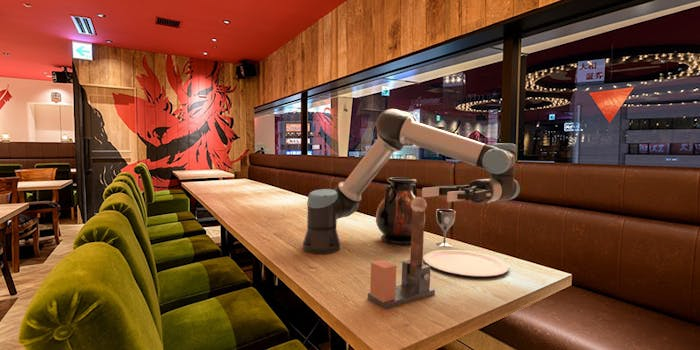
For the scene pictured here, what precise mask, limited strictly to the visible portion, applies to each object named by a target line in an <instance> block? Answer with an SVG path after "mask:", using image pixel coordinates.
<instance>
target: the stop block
mask: <svg viewBox="0 0 700 350" xmlns="http://www.w3.org/2000/svg"><path fill="white" fill-rule="evenodd" d="M370 263H371V264H370V287H369V288H370V290H369V291H370V292H369V293H370V295H372V296H373V297H375V298H377V299H378V300H380V301H382V302H387V301H390V300H394V299H395V289H396V286H397V285H396V283H397V265H395V264H394V263H391V262H389V261H387V260H384V259H381V260H375V261H371V262H370Z"/></svg>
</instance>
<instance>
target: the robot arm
mask: <svg viewBox="0 0 700 350" xmlns="http://www.w3.org/2000/svg"><path fill="white" fill-rule="evenodd" d="M375 126H376V131H377V132H376V136H377V139H376V140H375V141H374V143H373V144H372V145H371V146H370V148H369V149H368V150H367V152H366V153H365V154H364V156H363V157H362V159H360V161H359V162H358V163H357V165H356V166H355V168H354V169H353V170H352V172H351V173H350V174H349V175H348V177H347V178H346V180H345V181H340V182H338V184H337V185H336V187H335V188H334V189H333V188H332V189H330V188H322V189H315V190H313V191H311V192H309V194H308V196H307V202H306V203H307V221H306V222H307V225H306V226H307V227H306V228H307V229H306V233H305V236H304V238H303V241H302V250H303V251H304V252H305V253H310V254H317V255H327V254H333V253H337V252H339V251H340V250H341V242H340V238H339V235H338V230H337V223H338V222H337V220H338V219H343V218H344V217H345V218H347V217H349V216H352V215H353V214H354V213H356V211H357V210H358V208H359V205H360V202H361V200H362V193H363V192H364V191H365V190H366V189H367V187H368V186H369V185H370V183H371V182H372V180H374V179H375V177H376V176H377V174H378V173H379V172H380V171H381V170H382V168H383V167H384V166H385V165H386V164H387V162H388V161H389V159H390V158H392V156H393V154H394V153H395V152H401V151H402V149H403V148H404V147H405V146H406V145H407V143H409V144H410V145H414V146H417V147H420V148H423V149H425V150H429V151H432V152H434V153H437V154H441V155H443V156H445V157H449V158H451V159H455V160H457V161H460V162H463V163H466V164H469V165H471V166H475V167H478V168H479V169H483V170H485V171H487V173H490V176H489V177H490V178H484V179H483V178H481V179H473V180H472V181H470V182H469V183H468V184H464V185H438V186H437V185H433V186H431V187H422V189H421V198H429V197H434V198H438V197H439V196H446V202H448V203H451V202H461V201H462V202H463V201H471V202H473V203H475V204H483V203H486V204H490V203H491V202H500V201H501V202H502V201H504V202H505V201H506V202H507V201H510V200H513V199H514V200H515V198H517V197H518V196H519V194H520V191H521V187H520V183H519V182H518V181H517V180H515V170H516V169H515V168H516V156H517V146H516V145H517V144H514V143H507V142H506V143H505V142H504V143H503V142H502V143H499V142H496V143H493V144H492V145H489V144H486V143H483V142H480V141H478V140H475V139H470V138H468V137H464V136H461V135H459V134H456V133H452V132H450V131H446V130H443V129H439V128H436V127H433V126H430V125H427V124H424V123H422V122H421V123H420V122H419V121H418V118H417V117H416V116H415V115H413V113H411V112H409V111H406V110H400V109H396V108H389V109H386V110H384V111H382V112H380V114H379V116H378V117H377V119H376V122H375Z"/></svg>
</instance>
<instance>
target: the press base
mask: <svg viewBox="0 0 700 350" xmlns="http://www.w3.org/2000/svg"><path fill="white" fill-rule="evenodd" d="M401 263H402V264H401V283H400V284H398V285H396V289H395V299H394V300H390V301H387V302H382V301H380V300H378V299H377V298H375V297H373V296H372V295H370V292H369V293H367V300H369V301H371V302H372V303H374V304H375V305H377V306H379V307H381V308H382V309H384V310H389V309H392V308H394V307H395V308H396V307H399V306H402V305H406V304H408V303H413V302H415V301H419V300H422V299H426V298H429V297H432V296H435V294H436V289H435V288H432V287H430V284H431V283H430V282H431V268H432V267H431V266H429V265H428V264H422V265H421V266H416V267H415V278H414V277H412V276H410V259H409V260H404V261H403V260H402V261H401Z"/></svg>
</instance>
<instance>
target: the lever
mask: <svg viewBox="0 0 700 350" xmlns="http://www.w3.org/2000/svg"><path fill="white" fill-rule="evenodd" d="M427 206H428V205H427V201H426V200H425V198H424V197H422V196H421V197H420V196H417V197H416V198H414V199H413V200H412V201H411V208H412V231H411V245H410V259H409V260H410V276H412V277H414V278H415V267H416V266H421V265H423V261H424V260H423V258H424V254H423V253H424V237H425V236H424V232H425V225H424V214H426V213H425V210H426V209H427Z"/></svg>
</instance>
